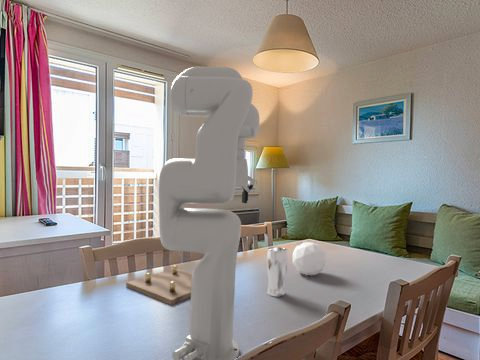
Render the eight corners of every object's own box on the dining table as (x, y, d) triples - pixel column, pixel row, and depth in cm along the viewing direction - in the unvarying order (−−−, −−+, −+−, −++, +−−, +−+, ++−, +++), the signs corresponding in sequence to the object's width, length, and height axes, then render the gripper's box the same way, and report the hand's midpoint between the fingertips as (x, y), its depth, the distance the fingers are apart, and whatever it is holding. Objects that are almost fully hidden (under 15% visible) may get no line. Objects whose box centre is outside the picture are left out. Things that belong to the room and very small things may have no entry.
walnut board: (170, 305, 92) (171, 289, 92) (126, 286, 105) (126, 273, 105) (218, 285, 110) (219, 272, 110) (175, 271, 123) (175, 260, 123)
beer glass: (269, 298, 101) (271, 251, 100) (262, 290, 107) (264, 246, 107) (289, 296, 102) (291, 251, 102) (281, 288, 109) (283, 246, 109)
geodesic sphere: (284, 263, 120) (307, 236, 120) (281, 254, 134) (302, 230, 133) (313, 287, 120) (336, 260, 119) (307, 276, 134) (328, 251, 133)
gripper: (213, 152, 104) (211, 204, 104) (260, 155, 110) (258, 204, 111) (207, 153, 111) (205, 201, 111) (251, 156, 117) (249, 202, 118)
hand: (231, 202), depth 111 cm, fingers open, 9 cm apart
